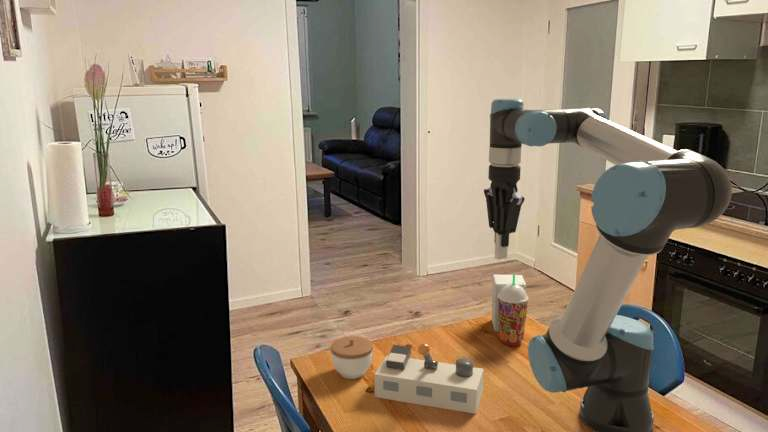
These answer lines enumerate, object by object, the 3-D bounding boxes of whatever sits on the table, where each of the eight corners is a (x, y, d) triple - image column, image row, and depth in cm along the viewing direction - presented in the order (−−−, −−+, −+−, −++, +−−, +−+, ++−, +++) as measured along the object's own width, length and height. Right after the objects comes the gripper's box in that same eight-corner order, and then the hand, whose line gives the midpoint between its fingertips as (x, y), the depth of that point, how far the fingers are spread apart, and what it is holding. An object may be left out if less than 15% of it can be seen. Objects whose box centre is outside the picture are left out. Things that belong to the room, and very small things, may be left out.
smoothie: (489, 341, 168) (492, 274, 163) (507, 332, 173) (510, 268, 168) (514, 351, 162) (517, 282, 157) (531, 341, 167) (535, 275, 162)
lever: (438, 361, 142) (430, 342, 131) (436, 371, 140) (428, 354, 130) (426, 359, 142) (417, 341, 132) (424, 370, 141) (415, 352, 131)
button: (474, 370, 140) (474, 359, 139) (471, 378, 136) (471, 367, 135) (457, 367, 141) (457, 357, 140) (454, 376, 137) (454, 365, 136)
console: (482, 391, 142) (483, 368, 140) (475, 414, 132) (476, 390, 131) (387, 376, 149) (387, 354, 148) (374, 397, 140) (374, 374, 138)
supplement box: (520, 320, 182) (523, 274, 178) (524, 332, 173) (527, 284, 170) (491, 319, 183) (492, 273, 179) (493, 331, 174) (495, 283, 170)
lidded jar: (352, 388, 144) (351, 353, 142) (322, 373, 151) (321, 340, 149) (382, 372, 151) (381, 338, 149) (352, 358, 158) (351, 326, 156)
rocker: (411, 352, 145) (410, 346, 144) (404, 369, 140) (403, 362, 139) (394, 350, 147) (393, 343, 146) (386, 367, 141) (385, 360, 140)
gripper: (535, 166, 138) (530, 263, 143) (500, 159, 149) (496, 249, 155) (509, 169, 134) (505, 267, 140) (475, 162, 146) (473, 253, 151)
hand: (500, 257), depth 147 cm, fingers closed
